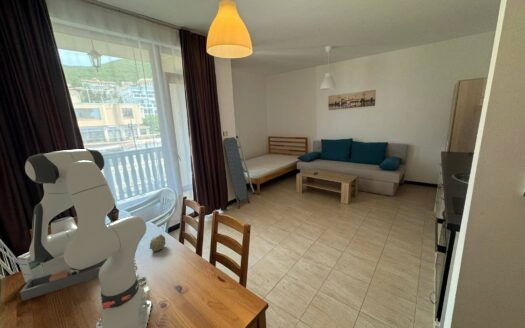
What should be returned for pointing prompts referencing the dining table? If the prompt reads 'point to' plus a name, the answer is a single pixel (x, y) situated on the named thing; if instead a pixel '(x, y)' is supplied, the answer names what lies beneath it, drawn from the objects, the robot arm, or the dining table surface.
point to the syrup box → (30, 267)
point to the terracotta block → (59, 275)
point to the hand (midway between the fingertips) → (75, 274)
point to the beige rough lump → (157, 243)
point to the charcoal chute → (58, 281)
